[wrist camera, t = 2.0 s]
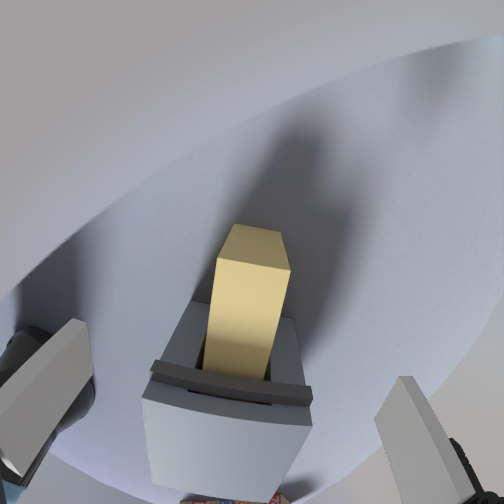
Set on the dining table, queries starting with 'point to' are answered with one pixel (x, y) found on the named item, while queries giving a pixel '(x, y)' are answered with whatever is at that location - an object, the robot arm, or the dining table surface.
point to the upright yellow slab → (246, 303)
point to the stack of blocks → (278, 500)
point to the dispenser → (224, 416)
